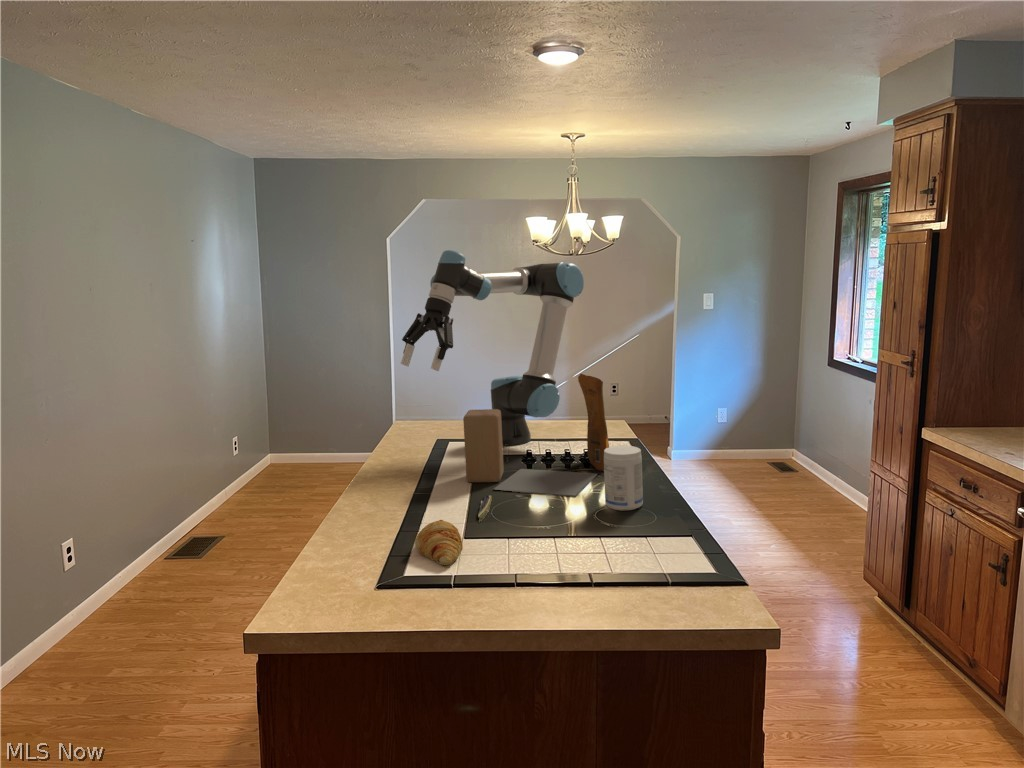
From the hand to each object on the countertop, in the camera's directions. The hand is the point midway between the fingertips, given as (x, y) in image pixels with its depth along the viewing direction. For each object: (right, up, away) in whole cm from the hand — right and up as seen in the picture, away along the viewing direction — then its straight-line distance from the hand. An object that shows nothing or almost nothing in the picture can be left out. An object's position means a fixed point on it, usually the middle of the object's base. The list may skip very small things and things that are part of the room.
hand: (419, 367), depth 223 cm
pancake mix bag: (+54, -30, +9) cm, 62 cm away
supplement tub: (+56, -36, -32) cm, 74 cm away
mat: (+37, -33, -8) cm, 51 cm away
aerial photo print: (+27, -38, -31) cm, 56 cm away
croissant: (+11, -42, -57) cm, 72 cm away
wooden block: (+20, -33, -1) cm, 38 cm away
